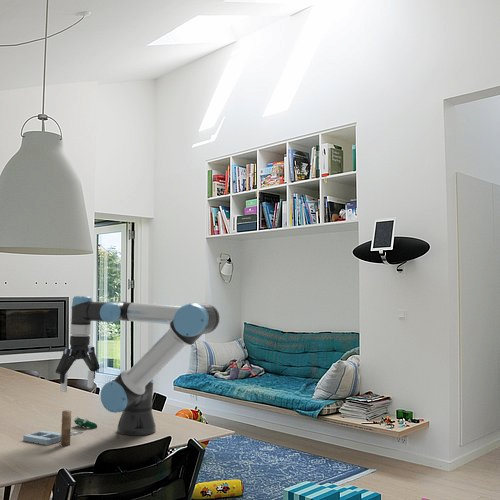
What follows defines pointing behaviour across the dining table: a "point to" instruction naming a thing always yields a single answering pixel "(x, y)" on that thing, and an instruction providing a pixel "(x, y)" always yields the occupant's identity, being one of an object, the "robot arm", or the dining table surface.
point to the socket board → (43, 437)
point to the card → (75, 433)
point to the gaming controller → (84, 423)
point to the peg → (66, 428)
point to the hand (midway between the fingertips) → (77, 389)
